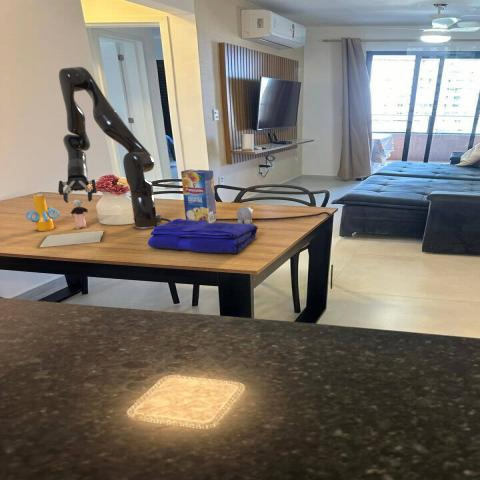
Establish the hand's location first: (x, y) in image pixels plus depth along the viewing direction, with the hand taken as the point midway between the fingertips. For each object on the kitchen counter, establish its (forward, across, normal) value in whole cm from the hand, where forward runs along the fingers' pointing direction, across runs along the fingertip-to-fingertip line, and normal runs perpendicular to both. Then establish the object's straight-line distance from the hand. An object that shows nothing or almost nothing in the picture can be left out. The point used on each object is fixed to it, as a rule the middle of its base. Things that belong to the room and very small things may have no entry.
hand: (78, 201), depth 166 cm
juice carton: (+15, +50, +2) cm, 52 cm away
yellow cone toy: (+8, -14, +9) cm, 18 cm away
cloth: (+21, -1, -5) cm, 22 cm away
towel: (+37, +48, -21) cm, 64 cm away
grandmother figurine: (+9, 0, +8) cm, 12 cm away
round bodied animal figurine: (+21, +70, -4) cm, 73 cm away
